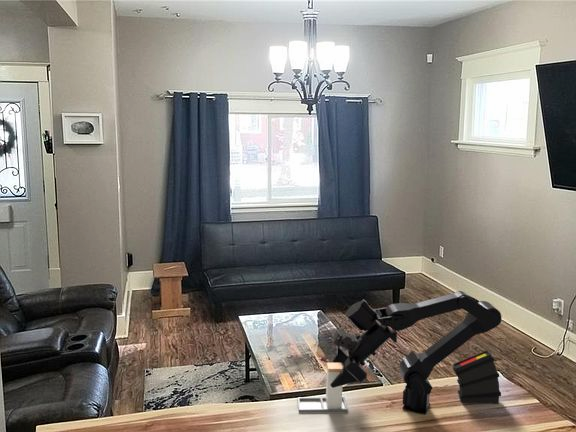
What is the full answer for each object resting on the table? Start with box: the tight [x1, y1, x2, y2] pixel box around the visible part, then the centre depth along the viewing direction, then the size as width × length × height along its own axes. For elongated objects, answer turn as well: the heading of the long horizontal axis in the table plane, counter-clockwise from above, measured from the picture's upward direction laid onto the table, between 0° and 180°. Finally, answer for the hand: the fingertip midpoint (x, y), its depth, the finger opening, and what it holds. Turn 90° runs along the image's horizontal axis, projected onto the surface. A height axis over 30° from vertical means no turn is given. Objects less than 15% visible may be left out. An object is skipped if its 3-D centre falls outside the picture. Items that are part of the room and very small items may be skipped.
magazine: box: [452, 350, 502, 405], centre depth 167 cm, size 4×13×15 cm, turn 89°
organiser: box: [296, 396, 349, 414], centre depth 162 cm, size 14×7×2 cm, turn 92°
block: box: [325, 362, 343, 409], centre depth 161 cm, size 4×4×12 cm
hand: (329, 378), depth 161 cm, fingers open, 9 cm apart
